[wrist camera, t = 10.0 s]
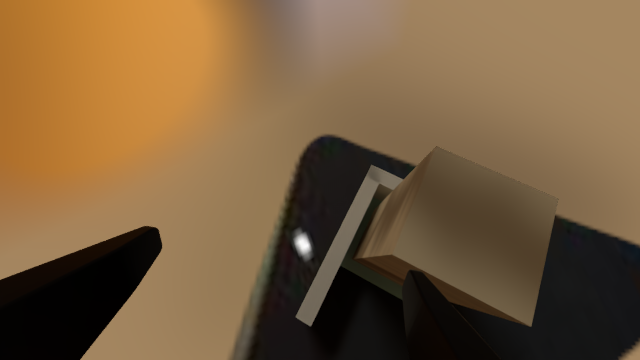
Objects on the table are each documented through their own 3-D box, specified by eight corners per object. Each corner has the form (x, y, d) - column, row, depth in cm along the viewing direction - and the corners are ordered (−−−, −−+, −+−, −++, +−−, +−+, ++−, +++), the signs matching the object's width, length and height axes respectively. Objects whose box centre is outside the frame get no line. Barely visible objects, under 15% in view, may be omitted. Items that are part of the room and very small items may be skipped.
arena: (397, 365, 19) (416, 391, 15) (300, 306, 20) (295, 317, 16) (448, 221, 22) (474, 213, 19) (363, 180, 24) (371, 164, 20)
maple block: (404, 287, 20) (530, 326, 8) (351, 259, 21) (391, 254, 9) (425, 234, 22) (558, 198, 9) (374, 209, 23) (436, 146, 10)
